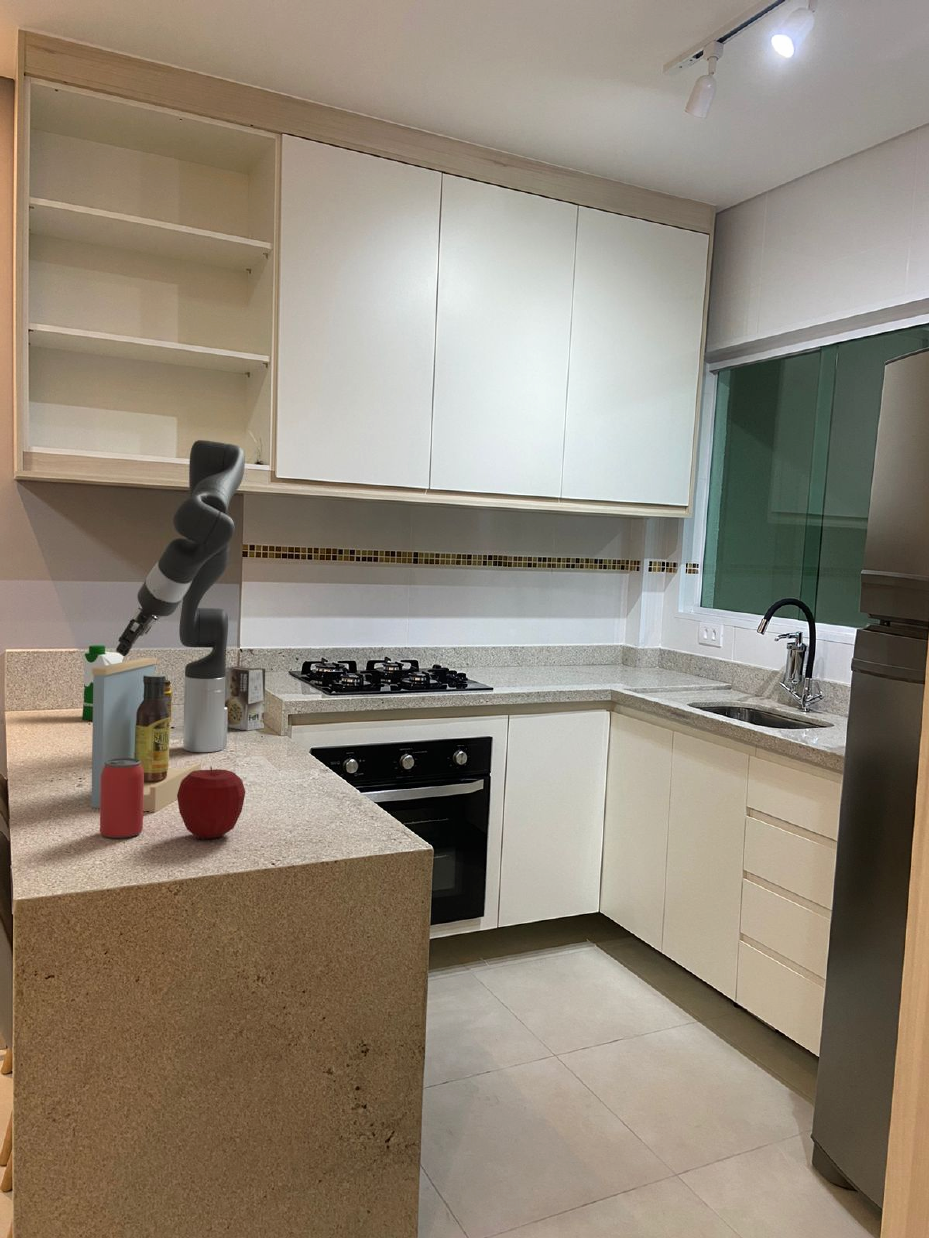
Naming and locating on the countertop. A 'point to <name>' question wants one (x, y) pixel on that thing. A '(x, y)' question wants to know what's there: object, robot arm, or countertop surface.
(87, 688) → the milk carton
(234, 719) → the coffee box
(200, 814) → the apple
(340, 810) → the countertop surface
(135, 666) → the wall board
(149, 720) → the sauce bottle
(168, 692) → the condiment
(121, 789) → the beer can
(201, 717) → the robot arm
